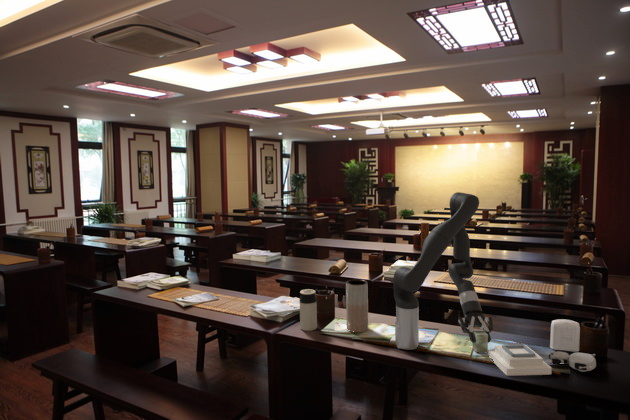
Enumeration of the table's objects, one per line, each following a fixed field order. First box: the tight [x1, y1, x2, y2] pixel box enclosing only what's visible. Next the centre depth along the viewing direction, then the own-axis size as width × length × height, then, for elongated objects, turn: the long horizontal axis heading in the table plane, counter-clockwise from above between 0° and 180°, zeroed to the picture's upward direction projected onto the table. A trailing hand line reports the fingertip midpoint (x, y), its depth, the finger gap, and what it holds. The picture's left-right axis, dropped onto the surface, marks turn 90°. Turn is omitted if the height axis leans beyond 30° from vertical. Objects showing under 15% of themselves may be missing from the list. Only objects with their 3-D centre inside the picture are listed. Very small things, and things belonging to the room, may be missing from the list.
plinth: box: [487, 343, 552, 377], centre depth 155 cm, size 16×16×6 cm
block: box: [472, 330, 489, 353], centre depth 168 cm, size 4×4×8 cm
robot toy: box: [546, 350, 597, 373], centre depth 154 cm, size 12×4×15 cm
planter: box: [345, 278, 369, 333], centre depth 194 cm, size 10×10×23 cm
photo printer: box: [549, 318, 581, 353], centre depth 167 cm, size 10×4×12 cm, turn 72°
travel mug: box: [299, 288, 318, 332], centre depth 197 cm, size 8×8×18 cm
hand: (481, 342), depth 167 cm, fingers open, 5 cm apart
